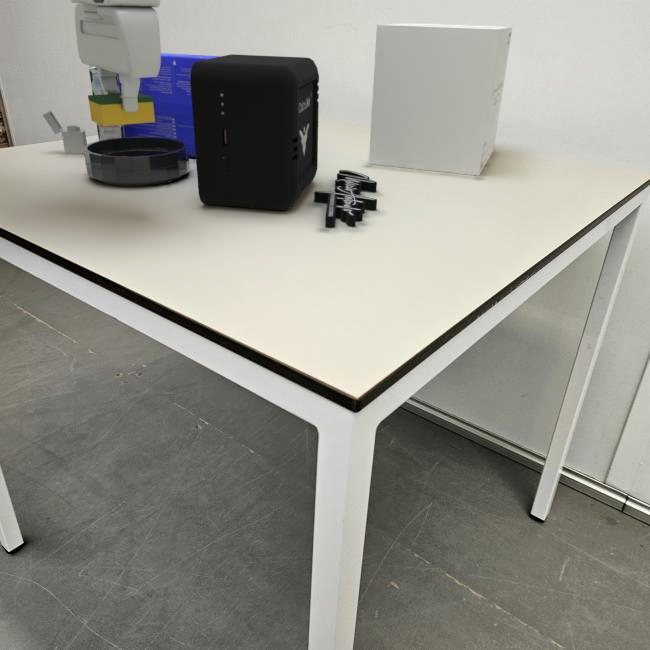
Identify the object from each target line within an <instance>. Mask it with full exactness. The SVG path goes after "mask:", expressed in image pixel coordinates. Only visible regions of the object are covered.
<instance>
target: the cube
mask: <svg viewBox="0 0 650 650" xmlns="http://www.w3.org/2000/svg"><path fill="white" fill-rule="evenodd" d="M512 32H513V26H508V25H507V26H504V25H476V24H475V25H474V24H473V25H471V24H449V23H418V22H417V23H415V22H403V23H389V24H388V23H387V24H385V23H383V24H376V32H375V35H376V36H375V51H374V66H373V67H374V68H373V85H372V100H371V101H372V104H371V121H370V135H369V136H370V137H369V139H370V140H369V154H368V155H369V156H368V165H375V166H384V167H393V168H402V169H403V168H404V169H413V170H423V171H430V172H431V171H432V172H441V173H451V174H458V175H459V174H460V175H469V176H480V174H481V173H482V171H483V169H484V168H485V166H486V165H487V163H488V161H489V159H490V158H491V156H492V154H493V153H494V150H495V143H496V137H497V130H498V122H499V118H500V110H501V104H502V98H503V91H504V85H505V78H506V71H507V64H508V60H509V59H508V58H509V51H510V46H511V38H512Z"/></svg>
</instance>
